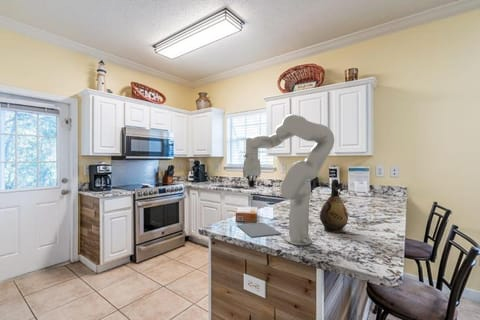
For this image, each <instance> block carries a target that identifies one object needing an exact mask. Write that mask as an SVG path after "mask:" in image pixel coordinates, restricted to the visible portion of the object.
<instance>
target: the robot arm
mask: <svg viewBox="0 0 480 320" xmlns="http://www.w3.org/2000/svg"><path fill="white" fill-rule="evenodd" d="M295 136H296V137H297V138H300V139H301V140H304V141H307V142H312V143H313V142H314V145H313V146H312V147H311V148H310V150H309V152H308V153H307V156H306V157H305V158H304V160H297V161H295V162H293V163H292V165H291V166H290V167H289V169H288V171H287V173H286V175H285V176H284V179H283V181H282V183H281V185H280V194H281V196H282V197H283V198H284V199H285V200H290V202H289V216H288V217H289V219H288V220H289V221H288V224H289V225H288V228H289V229H288V230H289V231H288V235H287V236H285V241H286V242H288V243H289V244H292V245H295V246H308V245H311V243H312V238H310V234H309V228H310V227H309V222H310V220H309V218H310V199H311V193H312V188H311V187H312V186H311V184H310V182H309V181H312V180H314V179H316V178H317V177H318V175H319V174H320V171H321V169H322V167H323V166H324V164H325V163H326V160H327V159H328V157H329V155H330V153H331V151H332V150H333V148H334V146H335V145H334V144H335V136H334V133H333V131H332V130H331V129H330V127H328V126H327V125H324V124H321V123H316V122H311V121H309V120H308V119H306V118H305V117H304V116H302V115H297V114H294V113H293V114H291V113H290V114H288V115H286V116H285V117H284V118H283V120H282V123H280V124H279V125H277V126H276V127H275V133H273V134H271V135H261V134H258V135H254V136H253V135H252V136H246V137H245V154H243V158H244V161H243V166H242V174H243V175H242V177H243V178H246V179H247V180H248V186H249V188H254V187H255V181H256V179H259V178H260V177H261V173H262V171H261V160H260V159H259V149H266V150H267V149H273V148H275V147H277V146H280V145H281V144H283V143H284V142H285V141H286V140H288V139H290V138H294V137H295Z"/></svg>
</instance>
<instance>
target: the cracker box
mask: <svg viewBox="0 0 480 320" xmlns="http://www.w3.org/2000/svg"><path fill="white" fill-rule="evenodd" d="M258 209H259V207H257V206H243V205H241V206H240V205H239V206H238V207H237V210H236V212H235V221H236V222H246V223H247V222H248V223H258V222H257V221H258Z"/></svg>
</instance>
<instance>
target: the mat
mask: <svg viewBox="0 0 480 320" xmlns="http://www.w3.org/2000/svg"><path fill="white" fill-rule="evenodd" d="M237 227H238V228H239V229H240V230H241V231H243V232H244V233H245V235H247V236H249V237H250V238H252V239H253V238H262V237H268V236H277V235H278V236H279V235H282V232H280V231H279V230H277V229H275V228H273V227H271V226H270V225H269V224H267V223H265V222H253V223H246V224H237Z"/></svg>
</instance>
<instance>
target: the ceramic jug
mask: <svg viewBox="0 0 480 320" xmlns="http://www.w3.org/2000/svg"><path fill="white" fill-rule="evenodd" d="M341 189H342V183H341V182H339V180H338V179H337V178H334V179H332V181H331V193H330V196H329V197H328V198H327V200H326V201H325V202H324V203H323V205H322V208H321V210H320V212H319V220H320V222H321V225H323V227H324V230H325V231H327V232H330V233H341V232H342V230H343V229H344V228H345V227H346V226H347V224H348V222H349V213H348V211H347V208H346V205H345V204H344V202H343V200H342V198H341V197H340V195H339V190H341Z"/></svg>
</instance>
